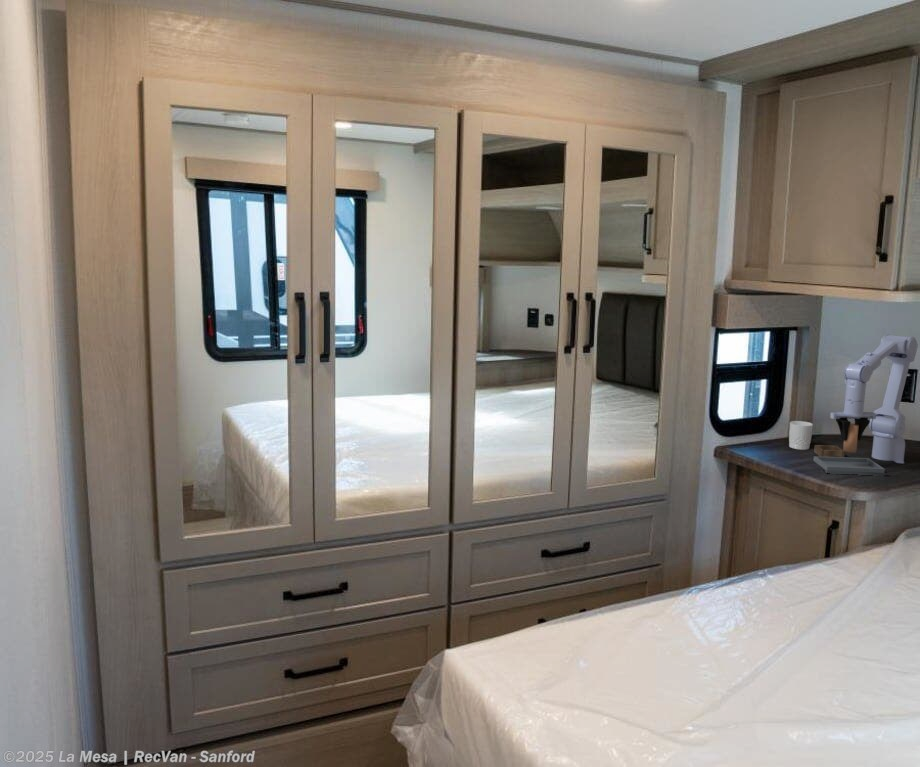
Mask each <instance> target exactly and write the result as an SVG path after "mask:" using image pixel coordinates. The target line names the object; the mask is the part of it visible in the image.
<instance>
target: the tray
mask: <svg viewBox="0 0 920 767" xmlns="http://www.w3.org/2000/svg"><path fill="white" fill-rule="evenodd" d="M813 462H814V463H816V464H817V465H818V466H819V467H821V468H822V470H823V471H824V472H823V471H822V472H823V473H825V472H826V473H830V474H829V475H836V474H858V475H857V476H861V475H873V476H872V477H885V473H886V469H885V468H884V467H882V466H881V465H879V464H878V463H876V462H875V461H874V460H872V459H870V458H869V457H845V456H844V457H820V456H819V455H818V456H815V455H814V456H813ZM826 473H825V474H826ZM831 473H832V474H831Z"/></svg>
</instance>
